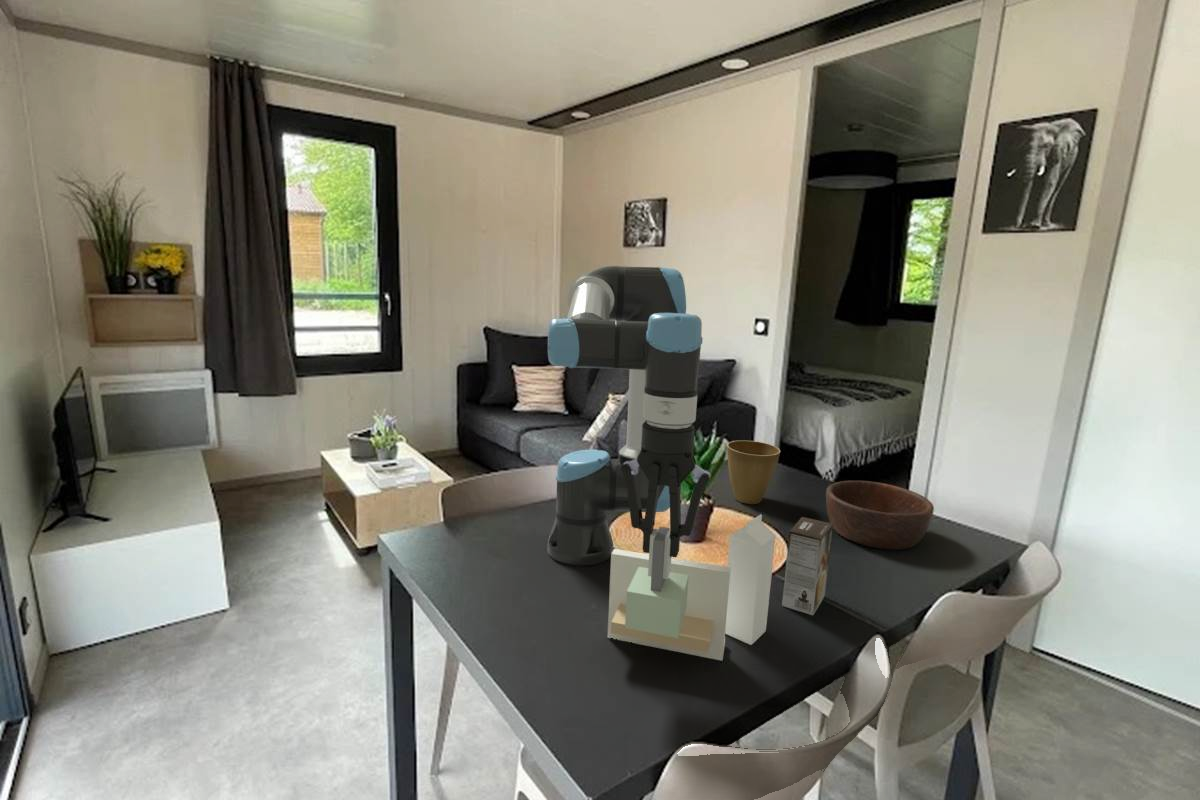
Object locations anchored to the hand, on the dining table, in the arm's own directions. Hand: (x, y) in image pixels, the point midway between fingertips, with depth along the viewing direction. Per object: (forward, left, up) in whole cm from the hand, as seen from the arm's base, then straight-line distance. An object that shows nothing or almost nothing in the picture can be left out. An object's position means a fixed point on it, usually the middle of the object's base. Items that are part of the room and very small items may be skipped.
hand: (659, 573), depth 91 cm
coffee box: (+24, +34, -19) cm, 46 cm away
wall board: (0, +9, -19) cm, 21 cm away
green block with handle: (0, 0, -8) cm, 8 cm away
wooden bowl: (+43, +76, -19) cm, 90 cm away
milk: (+13, +19, -19) cm, 30 cm away
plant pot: (+11, +89, -19) cm, 92 cm away
